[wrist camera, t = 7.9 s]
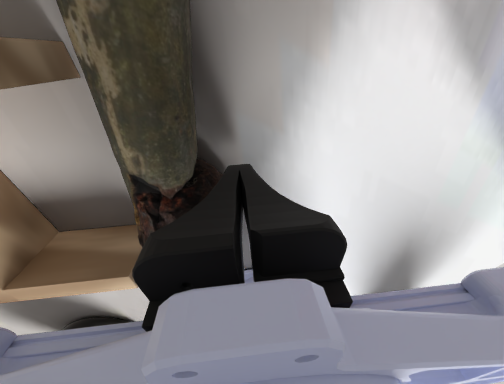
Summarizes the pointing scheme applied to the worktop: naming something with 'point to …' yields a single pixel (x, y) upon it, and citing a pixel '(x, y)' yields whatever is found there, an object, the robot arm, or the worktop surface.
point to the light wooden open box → (37, 226)
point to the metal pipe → (144, 100)
